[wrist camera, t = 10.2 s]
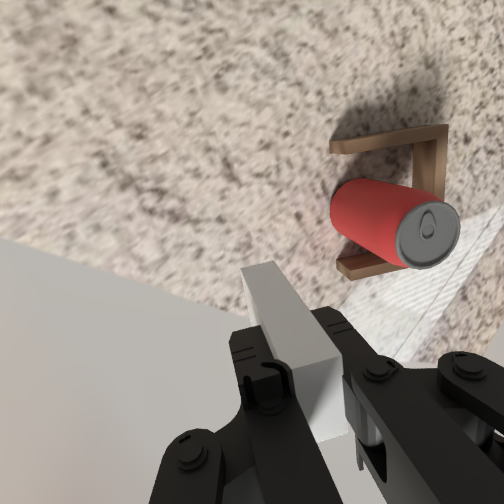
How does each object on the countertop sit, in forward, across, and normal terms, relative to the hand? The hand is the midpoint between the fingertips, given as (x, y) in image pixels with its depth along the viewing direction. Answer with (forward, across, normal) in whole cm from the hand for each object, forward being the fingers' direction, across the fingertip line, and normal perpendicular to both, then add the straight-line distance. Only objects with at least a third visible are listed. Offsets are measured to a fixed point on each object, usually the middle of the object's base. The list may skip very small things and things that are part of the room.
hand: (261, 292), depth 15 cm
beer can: (+21, +15, -4) cm, 26 cm away
